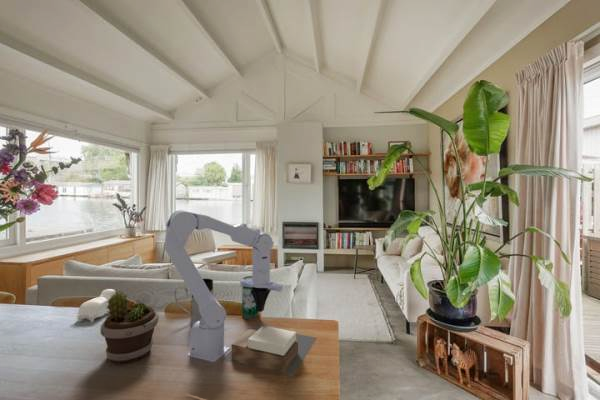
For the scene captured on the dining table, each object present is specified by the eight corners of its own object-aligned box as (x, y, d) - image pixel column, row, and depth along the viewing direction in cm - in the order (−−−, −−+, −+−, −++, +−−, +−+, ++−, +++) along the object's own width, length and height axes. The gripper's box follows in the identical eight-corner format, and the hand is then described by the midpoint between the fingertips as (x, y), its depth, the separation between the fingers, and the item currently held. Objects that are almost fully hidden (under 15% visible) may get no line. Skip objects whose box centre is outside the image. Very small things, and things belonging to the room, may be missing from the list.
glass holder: (213, 324, 102) (213, 284, 102) (171, 328, 99) (172, 286, 99) (214, 315, 110) (215, 277, 110) (176, 318, 107) (177, 279, 107)
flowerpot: (160, 337, 92) (161, 277, 92) (154, 363, 78) (155, 292, 78) (108, 345, 87) (109, 281, 87) (92, 374, 72) (93, 298, 72)
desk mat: (221, 360, 79) (221, 359, 79) (258, 327, 100) (258, 326, 100) (292, 378, 72) (292, 376, 72) (316, 338, 93) (316, 337, 93)
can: (240, 318, 108) (240, 279, 108) (245, 312, 114) (246, 275, 114) (255, 319, 107) (255, 280, 107) (259, 313, 113) (260, 276, 113)
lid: (247, 347, 78) (247, 338, 78) (262, 333, 86) (263, 325, 86) (283, 355, 74) (284, 346, 74) (295, 339, 82) (296, 331, 82)
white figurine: (99, 329, 104) (125, 301, 118) (92, 311, 101) (120, 284, 115) (77, 328, 104) (105, 300, 118) (70, 310, 101) (100, 284, 115)
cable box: (231, 360, 79) (231, 344, 79) (249, 343, 88) (249, 329, 88) (284, 373, 73) (285, 356, 73) (297, 354, 83) (298, 338, 83)
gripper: (286, 268, 92) (285, 309, 92) (248, 264, 97) (247, 303, 97) (277, 273, 86) (276, 317, 86) (237, 269, 91) (236, 310, 91)
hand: (260, 310), depth 91 cm, fingers closed
